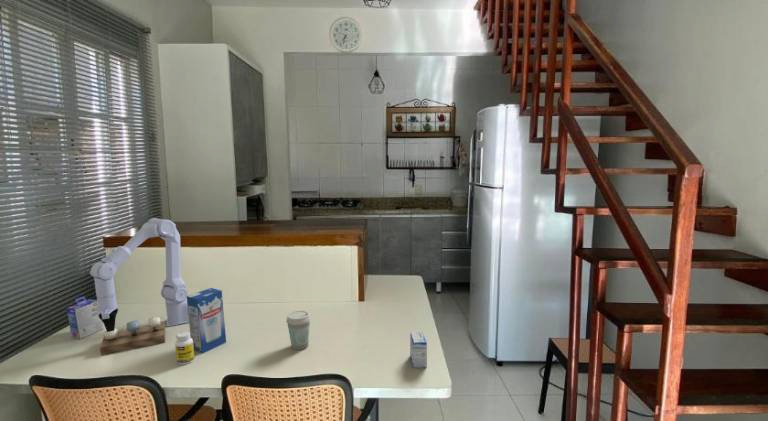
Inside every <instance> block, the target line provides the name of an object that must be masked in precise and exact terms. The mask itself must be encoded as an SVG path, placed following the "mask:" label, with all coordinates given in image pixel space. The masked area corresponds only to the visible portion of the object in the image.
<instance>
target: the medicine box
mask: <svg viewBox="0 0 768 421" xmlns="http://www.w3.org/2000/svg"><path fill="white" fill-rule="evenodd" d="M409 336H410V337H409V338H410V339H409V345H410V346H409V354H410V355H409V356H410V359H411V363H412V366H413V368H427V367H428V343H427V341H426V337H425V334H424V332H423V331H411V332H410V333H409Z"/></svg>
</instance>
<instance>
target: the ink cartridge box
mask: <svg viewBox="0 0 768 421" xmlns="http://www.w3.org/2000/svg"><path fill="white" fill-rule="evenodd" d="M74 301H75V303H76V304H74V305H72V306H68V307H67V308H65V309H66V314H67V318H68V319H67V320H68V324H69V331H70V336H71V338H72V339H78V340H80V339H83V338H85V337H87V336H90V335H92V334H94V333H97V332H99V331H101V330H103V329H104V323H103V322H102V320H101V319H100V318H99V314H100V312H99V311H94V309H95V308H97V307H98V303H97V299H92V298H90V299H87V298H86V297H85V296H80V297H77V298H75V299H74Z"/></svg>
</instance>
